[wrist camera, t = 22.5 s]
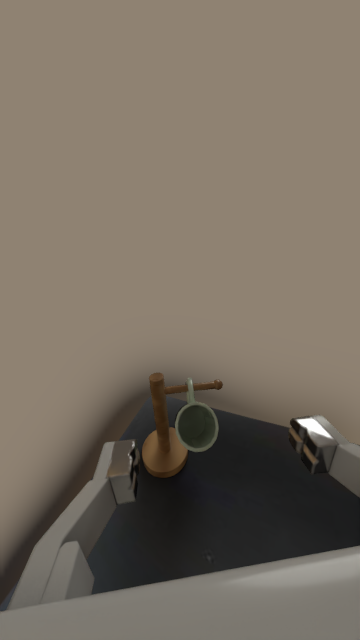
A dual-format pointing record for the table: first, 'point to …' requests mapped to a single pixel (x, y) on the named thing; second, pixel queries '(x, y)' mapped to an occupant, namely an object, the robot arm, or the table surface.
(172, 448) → the mug stand
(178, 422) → the cup
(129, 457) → the robot arm
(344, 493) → the table surface
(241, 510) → the table surface
